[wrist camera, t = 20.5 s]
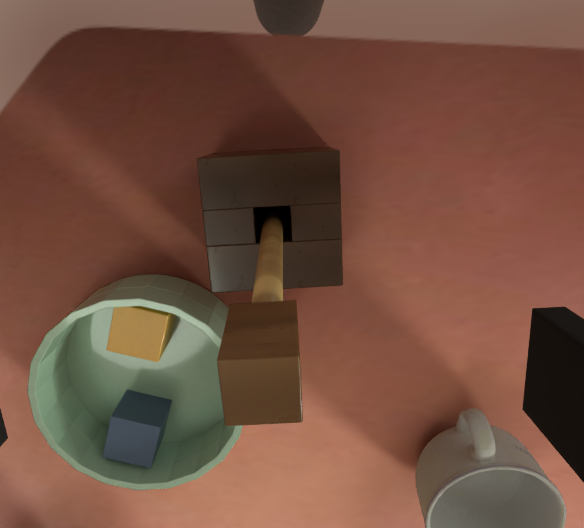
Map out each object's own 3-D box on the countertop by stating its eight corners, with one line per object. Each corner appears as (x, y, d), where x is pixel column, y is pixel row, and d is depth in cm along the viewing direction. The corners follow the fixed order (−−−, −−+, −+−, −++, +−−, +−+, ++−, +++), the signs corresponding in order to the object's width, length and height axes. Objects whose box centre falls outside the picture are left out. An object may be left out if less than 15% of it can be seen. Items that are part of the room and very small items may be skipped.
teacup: (511, 501, 46) (557, 576, 38) (400, 505, 46) (424, 581, 38) (527, 373, 42) (582, 428, 34) (406, 377, 42) (434, 433, 34)
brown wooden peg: (256, 190, 37) (216, 360, 15) (289, 188, 37) (299, 355, 15) (259, 221, 38) (224, 427, 16) (291, 220, 38) (302, 423, 16)
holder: (212, 153, 36) (196, 158, 29) (329, 146, 36) (339, 150, 29) (223, 264, 39) (211, 293, 32) (332, 258, 39) (343, 285, 32)
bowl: (47, 279, 39) (6, 305, 33) (243, 268, 39) (236, 292, 33) (82, 446, 43) (51, 495, 37) (258, 436, 43) (254, 483, 37)
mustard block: (131, 285, 38) (114, 302, 34) (180, 297, 38) (168, 315, 35) (123, 329, 39) (105, 350, 35) (170, 340, 40) (158, 362, 36)
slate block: (127, 389, 41) (110, 416, 37) (172, 399, 41) (160, 427, 37) (118, 427, 42) (102, 457, 38) (163, 437, 42) (150, 468, 38)
